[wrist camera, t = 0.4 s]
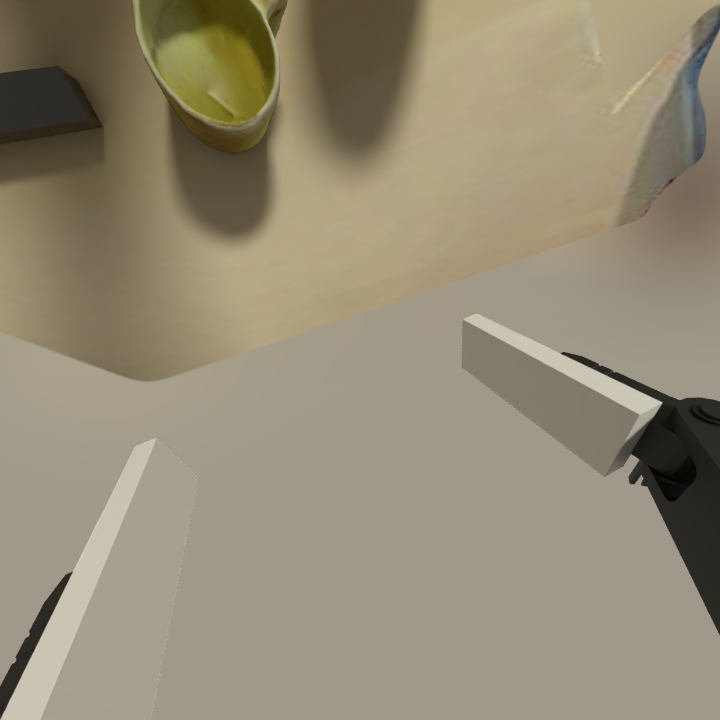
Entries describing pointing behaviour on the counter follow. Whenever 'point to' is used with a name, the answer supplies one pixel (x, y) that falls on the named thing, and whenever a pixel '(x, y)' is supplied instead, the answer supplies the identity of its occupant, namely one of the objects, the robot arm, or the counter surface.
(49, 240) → the counter surface
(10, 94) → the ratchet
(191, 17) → the mug
